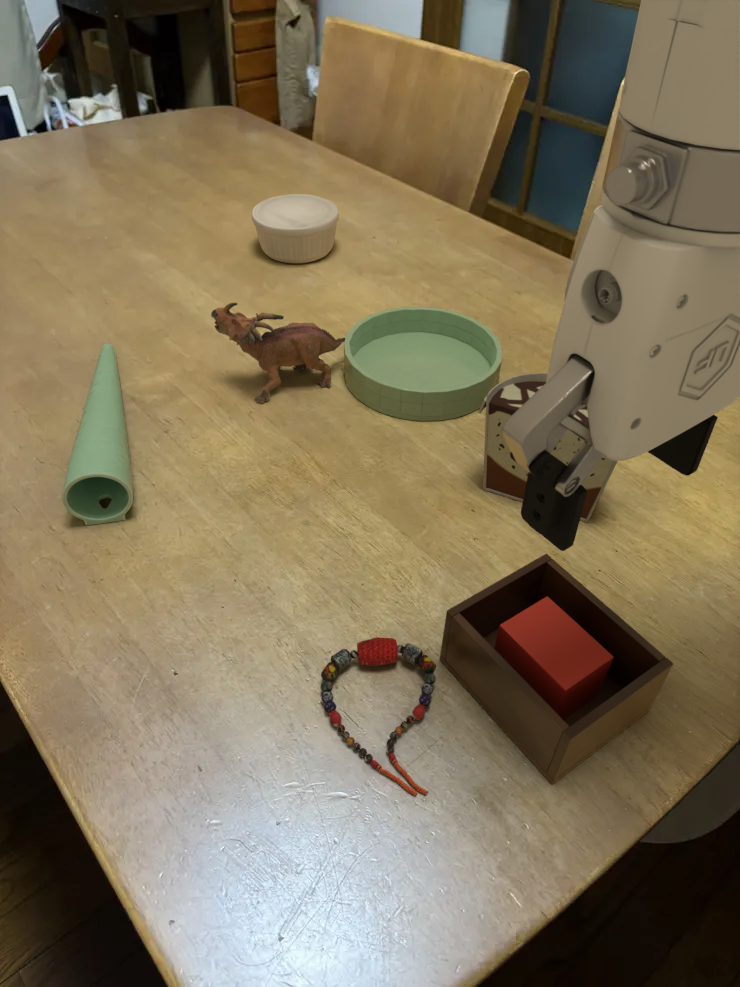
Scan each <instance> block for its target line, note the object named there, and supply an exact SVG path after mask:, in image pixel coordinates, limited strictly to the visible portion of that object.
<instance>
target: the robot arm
mask: <svg viewBox="0 0 740 987" xmlns="http://www.w3.org/2000/svg"><path fill="white" fill-rule="evenodd" d="M623 80H624V81H623V85H622V88H621V96H620V101H619V106H618V110H617V115H616V118H615V119H616V120H615V124H614V128H613V132H612V133H613V134H612V138H611V143H610V148H609V153H608V158H607V161H606V168H605V171H604V177H603V181H602V186H601V189H600V195H599V201H600V205H602V207H601V208H599V209H598V210H597V211H596V212H595V215H594V217H593V220H592V222H591V225H590V228H589V230H588V233H587V236H586V238H585V241H584V244H583V246H582V249H581V252H580V255H579V258H578V261H577V264H576V267H575V270H574V273H573V276H572V279H571V282H570V286H569V289H568V292H567V295H566V299H565V298H564V300H565V302H563V306H562V310H561V313H560V316H559V321H558V325H557V328H556V332H555V336H554V339H553V344H552V348H551V354H550V358H549V363H548V369H547V372H546V373H547V379H546V383H545V384H544V385H543V386H542V387H541V388H540V389H539V390H538V391H537V392H536V393H535V394H534V395H533V396H532V397H531V398H530V399H529V400H528V401H526V402H525V403H524V404H523V405H522V406H521V407H520V408H519V409H518V410H517V411H516V412H515V413H514V414H513V415H512V416H511V417H510V418H509V419H508V420H507V421H506V422H505V424H504V425H503V428H502V434H503V437H504V439H505V441H506V443H507V446H508V448H509V450H510V457H511V459H512V460H514V461H515V462H516V463H518V464H519V465H520V466H522V467H523V468H524V469H526V470H527V471H528V477H527V483H526V488H525V493H524V498H523V502H521V503H522V504H521V509H520V516H521V518H522V520H523V521H524V522H525V523H527V524H528V526H529V527H530V528H531V529H532V530H534V531H535V532H536V533H537V534H539V535H541V536H542V537H543V538H545V540H547V541H548V542H549V543H551V544H552V545H553V546H554V547H556V549H558V550H560V551H562V552H565V551H567V550H568V549H569V548H572V547H573V546H574V543H575V541H576V540H575V539H576V536H577V532H578V528H579V524H580V518H581V514H582V510H583V506H584V503H585V499H586V495H587V490H586V489H585V488H584V487H583V486H582V485H581V483H582V482H583V481H584V479H585V478H586V476H587V475H588V474H589V472H590V471H591V470H592V468H593V467H594V465H595V464H596V463H597V461H598V460H599V459H600V457H601V456H602V455H603V454H604V455H606V457H607V458H608V459H610V460H612V461H617V462H621V461H627V460H630V459H635V458H638V457H640V456H641V455H643V454H646V453H649V454H651V455H652V456H654V457H655V458H656V459H658V460H660V461H661V462H662V463H664V464H665V465H667V466H668V467H670V468H672V469H673V470H675V471H676V472H678V473H679V474H681V475H683V476H688V477H689V476H691V475H693V473H695V472H697V471H698V469H699V466H700V464H701V462H702V459H703V457H704V454H705V451H706V448H707V446H708V444H709V441H710V439H711V436H712V434H713V430H714V428H715V426H716V423H717V420H718V418H719V417H718V416H717V415H716V414H718V413H720V412H721V411H722V410H724V409H726V408H727V407H729V406H730V405H732V404H733V403H734V402H735V401H736V400H737V399H738V398H740V0H640V4H639V9H638V14H637V19H636V23H635V27H634V33H633V38H632V43H631V48H630V52H629V57H628V60H627V66H626V70H625V74H624V79H623ZM586 406H587V411H588V419H589V426H588V425H586V424H585V423H583V422H582V421H580V420H579V419H577V418H576V417H574V415H575V413H576V412H577V410H579V409H582V408H584V407H586ZM567 429H568V430H570V431H571V432H573V433H574V434H576V435H577V436H579V437H580V438H581V439H583V440H584V441H585V442H584V443H583V445H582V446H581V447H580V449H579V450H578V452H577V453H576V454H575V456H574V457H573V458H572V460H571V461H570V463H569V464H568V465H565V464H564V463H563V462H561V461H560V460H558V459H557V458H556V457H554V456H553V455H552V454H550V453H551V452H552V451H553V449H554V448H555V446H556V445H557V444H558V442H559V441H560V439H561V438H562V437H563V435H564V434H565V432H566V431H567Z"/></svg>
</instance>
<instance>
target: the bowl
mask: <svg viewBox="0 0 740 987" xmlns="http://www.w3.org/2000/svg"><path fill="white" fill-rule="evenodd" d="M344 338H345V341H344V342H343V375H344V376H343V377H344V380H345V384H346V386H347V388H348V389H349V391H350V393H351V394H352V395H353V396H354V398H356V399H357V400H358V401H360V402H361V403H363V404H364V405H365V406H367V407H368V408H370V409H372V410H374V411H377V412H378V413H381V414H384V415H387V416H389V417H393V418H396V419H397V418H398V419H403V420H407V421H408V420H409V421H416V422H417V421H419V422H438V421H446V420H453V419H457V418H460V417H463V416H466V415H469V414H471V413H473V412H475V411H477V410H480V407H481V405H482V402H483V400H484V399H485V397H486V396H487V395H488V393H489V392H490V391H491V389H492V388H494V387H495V386H496V385H497V384H499V381H500V380H499V379H500V375H501V368H502V363H503V362H502V361H503V350H504V349H503V347H502V344H501V342H500V339H499V338H498V337H497V335H495V333H494V332H493V331H492V330H491V329H490V328H489V327H488V326H486V325H484V324H483V323H482V322H480V321H479V320H477V319H475V318H473V317H470V316H468V315H465V314H463V313H461V312H457V311H453V310H449V309H445V308H441V307H432V306H401V307H400V306H399V307H395V308H388V309H384V310H381V311H378V312H375V313H371V314H369V315H367V316H366V317H364V318H361V319H360V320H358V321H357V322H356V323H355V324H354V325H353V326H352V327H351V328H350V329H349V330H348V331H347V333H346V335H345V337H344Z"/></svg>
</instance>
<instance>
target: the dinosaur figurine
mask: <svg viewBox="0 0 740 987" xmlns="http://www.w3.org/2000/svg"><path fill="white" fill-rule="evenodd" d="M235 306H238V302H230V303H228V304H226V305H225V306H224V307H217V308H215V309H213V310H212V311H211V312H210V313H211V314H210V315H211V318H213V319H214V320H215V321H214V324H215V325H214V328H215V330H216V332H218V333H219V334H222V335H224V336H227V337H228V338H229V339H228V340H229V341H233V342H234V343H236V346H239V348H240V349H241V351H242V352H243V353H246V354H247V355H249V356H250V357H252V359H254V360H256V361H257V362H258V366H259V367H260V368H261V370H262V371H264V372H267V378H268V381H267V384H266V385H265V386H263V387H262V388H261V393H260V394H259V395H258V396H255V397H254V400H255V401H256V403H260V404H264V403H265V402H268V401H269V400H270V398H271V395H270V392H271V390H274V389H275V388H277V387H279V386H281V384H282V380H281V378H280V373H279V370H281V367H282V368H283V367H285V368H289V367H293V371H295V372H296V371H298V372H301V371H303V370H304V371H305V370H306V369H307V368H308V369H310V370H315V371H317V372H321V376H320V378H319V379H318V381H317V385H320V387H321V388H325V387H326V388H330V387H331V384H332V378H331V366H330V365H329V364H328V363H325V361H324V360H323V359H321V358H320V356H321V355H324V354H327V353H330V352H334V351H336V350H337V349H338V348H339V347H340V346H341V345H342V343H344V341H345V338H346V337H339V338H337V339H336V338H335V336H333V335H332V334H331V333H330V331H327V330H326V329H324V328H321V327H319V326H318V325H316V324H315V323H314V322H290V323H288V324H287V325H284V326H280V327H276V328H273V327H272V326H271V325H269V324H268V323H266V322H263V321H264V320H275V321H276V320H284V317H285V315H281V314H275V313H269V312H268V313H267V312H261V313H259V314H258V313H255V316H253V317H247V316H246V315H245V314H243V313H241V312H240V311H239V312H231V309H232V308H234V307H235ZM257 328H263V329H266V330H269V331H265V332H264V333H263V334H262V335H261V333H260V332H259V331H258V329H257Z"/></svg>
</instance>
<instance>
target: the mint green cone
mask: <svg viewBox="0 0 740 987" xmlns="http://www.w3.org/2000/svg"><path fill="white" fill-rule="evenodd" d="M116 354H117V353H116V349H115V347H114V345H113V344H112V343H108V342H106V343H104V344H103V345H102V346H101V349H100V352H99V355H98V358H97V362H96V365H95V368H94V372H93V374H92V380H91V382H90V386H89V389H88V393H87V396H86V400H85V404H84V407H83V411H82V414H81V418H80V421H79V425H78V428H77V431H76V435H75V439H74V443H73V445H72V450H71V453H70V457H69V461H68V463H67V464H68V465H67V469H66V473H65V474H66V475H65V480H64V484H63V489H62V494H61V500H62V505H63V506H64V508H65V510H67V512H68V513H70V514H71V515H72V516H73V517H75V518H77V519H80V520H81V521H83V522H84V525H85V526H93V525H100V524H107V523H115V522H119V521H121V522H122V521H126V514H127V513H128V511H129V510H130V509H131V507H132V506H133V503H134V490H133V488H134V487H133V476H132V475H133V474H132V465H131V456H130V449H129V441H128V432H127V426H126V424H127V423H126V418H125V409H124V403H123V396H122V389H121V381H120V380H121V379H120V374H119V367H118V366H119V365H118V360H117V355H116ZM103 499H110V500H111V501H110V502H109V504H108V506H107V507H105V508H103V507H102V505H101V503H100V502H101V501H102V500H103Z"/></svg>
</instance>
